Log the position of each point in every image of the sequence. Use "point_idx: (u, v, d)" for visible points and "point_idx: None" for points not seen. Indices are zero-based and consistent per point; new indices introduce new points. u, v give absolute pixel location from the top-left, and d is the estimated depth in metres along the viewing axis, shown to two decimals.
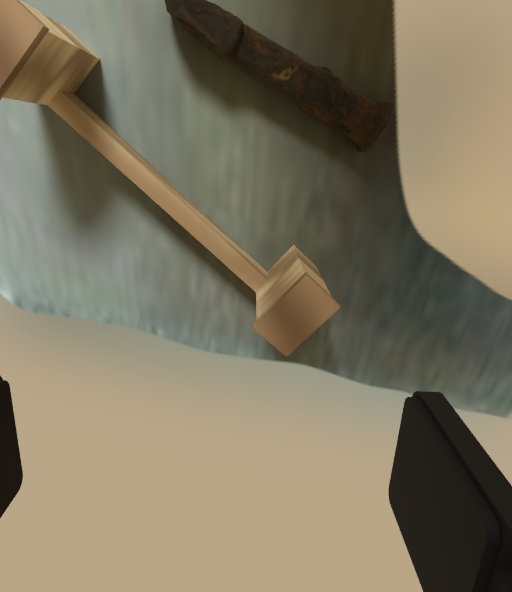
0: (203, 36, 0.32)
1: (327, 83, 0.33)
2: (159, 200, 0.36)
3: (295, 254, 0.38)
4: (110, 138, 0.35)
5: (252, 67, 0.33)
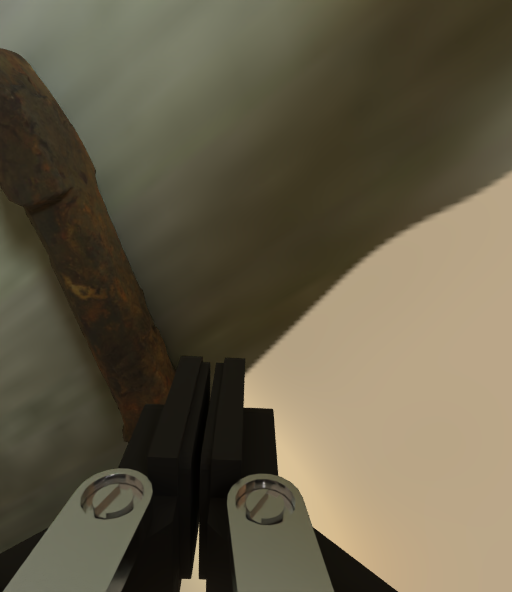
0: None
1: (127, 344, 0.21)
2: None
3: None
4: None
5: (45, 245, 0.20)
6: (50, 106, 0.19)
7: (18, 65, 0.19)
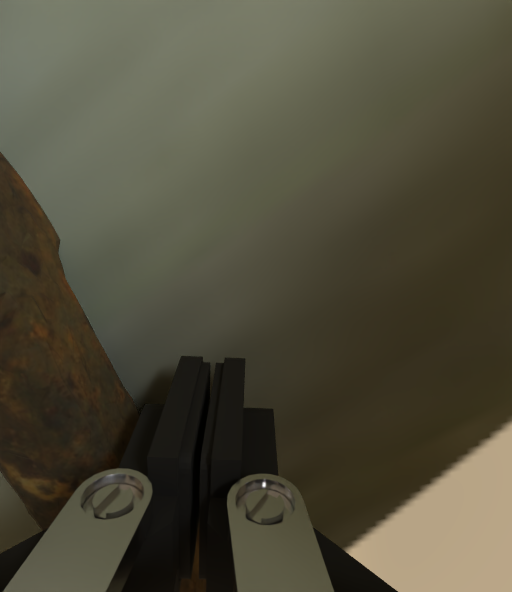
0: None
1: None
2: None
3: None
4: None
5: None
6: None
7: None
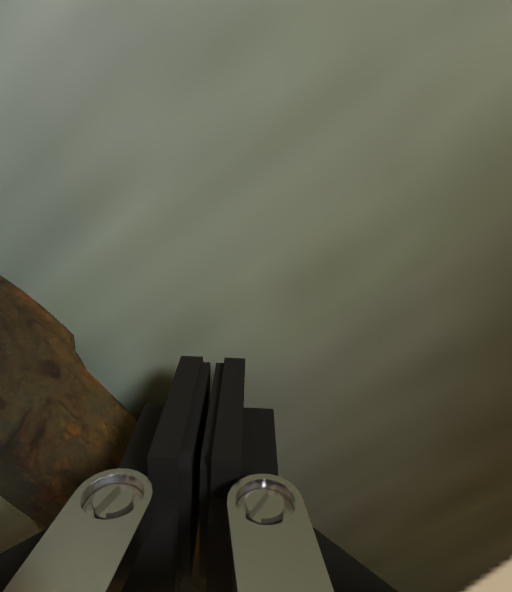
0: None
1: None
2: None
3: None
4: None
5: (27, 514, 0.11)
6: None
7: None
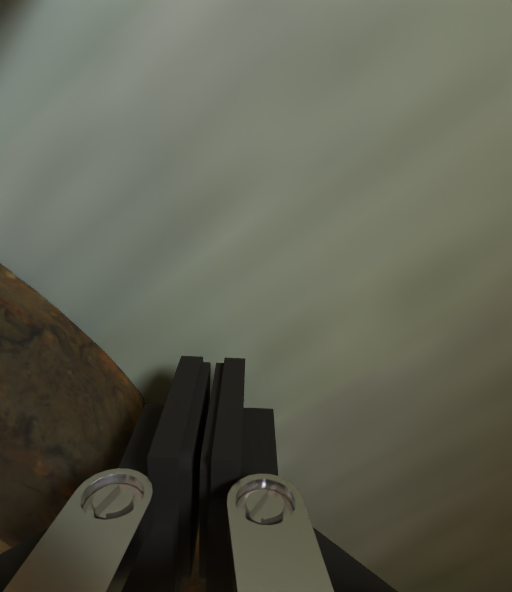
0: None
1: None
2: None
3: None
4: None
5: None
6: (53, 345, 0.11)
7: None
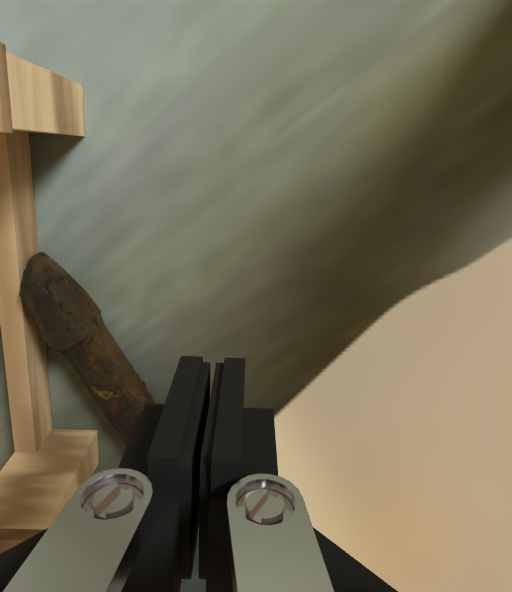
0: (37, 326, 0.28)
1: None
2: (3, 305, 0.29)
3: (81, 457, 0.32)
4: (12, 215, 0.27)
5: (77, 369, 0.30)
6: (67, 283, 0.30)
7: (44, 263, 0.29)
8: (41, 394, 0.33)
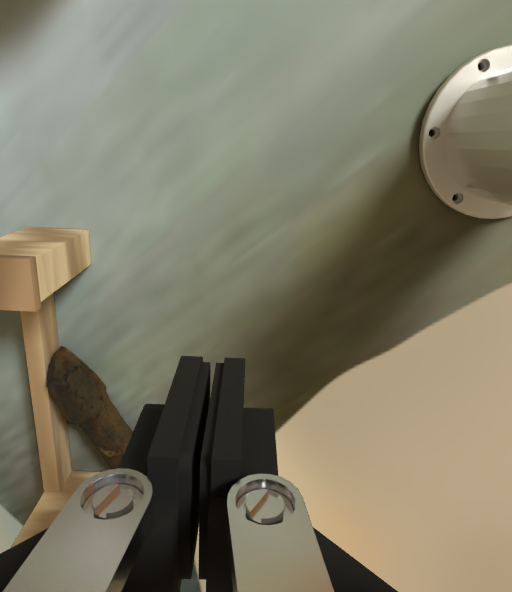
0: (59, 407, 0.38)
1: None
2: (34, 389, 0.39)
3: None
4: (39, 328, 0.37)
5: (88, 435, 0.40)
6: (80, 371, 0.40)
7: (63, 357, 0.39)
8: (63, 448, 0.43)
